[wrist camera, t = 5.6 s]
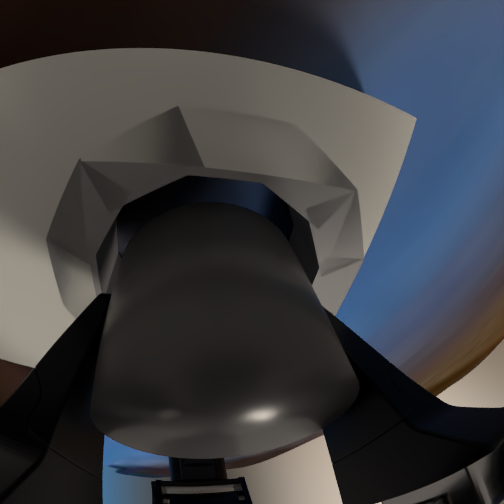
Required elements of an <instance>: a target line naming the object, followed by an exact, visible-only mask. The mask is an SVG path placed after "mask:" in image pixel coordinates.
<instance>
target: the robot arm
mask: <svg viewBox="0 0 504 504" xmlns="http://www.w3.org/2000/svg"><path fill="white" fill-rule="evenodd" d="M111 295H112V294H110V293H100V294H99V295H98V296H97V297H96V298H95V299H94V300H93V301H92V302H91V303H90V304H89V305H88V306H87V307H86V308H85V310H84V311H83V312H82V313H81V314H80V315H79V316H78V317H77V318H76V319H75V320H74V322H73V323H72V324H71V325H70V326H69V327H68V328H67V329H66V330H65V332H64V333H63V334H62V335H61V336H60V337H59V338H58V340H57V341H56V342H55V343H54V344H53V345H52V347H51V348H50V349H49V350H48V351H47V353H46V354H45V355H44V356H43V357H42V359H41V360H40V361H39V362H38V364H37V365H36V366H35V368H33V370H32V371H31V372H30V373H29V375H28V376H27V377H26V378H25V380H24V381H23V382H22V383H21V384H20V386H19V387H18V388H17V389H16V390H15V392H14V393H13V394H12V395H11V396H10V397H9V398H8V399H7V400H6V402H5V403H4V404H3V405H2V406H1V407H0V504H103V501H102V500H103V499H102V470H103V448H104V433H102V432H101V431H100V430H99V429H98V428H97V427H96V426H95V424H94V423H93V421H92V420H91V416H90V406H91V398H92V390H93V383H94V376H95V370H96V364H97V358H98V353H99V347H100V342H101V337H102V333H103V328H104V323H105V319H106V315H107V311H108V306H109V303H110V299H111ZM322 307H323V306H322ZM323 309H324V310H325V312H326V314H327V316H328V318H329V320H330V323H331V325H332V327H333V329H334V331H335V333H336V335H337V337H338V339H339V341H340V343H341V345H342V347H343V349H344V351H345V353H346V355H347V357H348V360H349V362H350V364H351V366H352V368H353V370H354V372H355V374H356V376H357V379H358V381H359V386H360V389H359V394H358V396H357V398H356V400H355V401H354V403H353V404H352V405H351V407H350V408H349V409H348V410H347V411H346V412H345V413H344V414H342V415H341V416H340V417H339V418H337V419H336V420H335V421H333V422H332V423H330V424H329V425H327V426H326V427H324V428H322V429H323V433H324V436H325V440H326V443H327V447H328V450H329V454H330V457H331V461H332V464H333V469H334V472H335V476H336V480H337V484H338V487H339V491H340V494H341V498H342V502H343V504H375V503H379V502H382V504H504V407H502V408H473V407H456V406H452V405H449V404H447V403H445V402H443V401H441V400H440V399H439V398H437V397H436V396H434V395H433V394H431V393H430V392H428V391H427V390H426V389H424V388H423V387H421V386H420V385H418V384H417V383H416V382H414V381H413V380H412V379H410V378H409V377H408V376H406V375H405V374H404V373H403V372H401V371H400V370H399V369H398V368H396V367H395V366H394V365H393V364H392V363H390V362H389V361H388V360H387V359H386V358H384V357H383V356H382V355H381V354H380V353H378V352H377V351H376V350H375V349H374V348H372V347H371V346H370V345H369V344H368V343H366V342H365V341H364V340H363V339H362V338H360V337H359V336H358V335H357V334H356V333H354V332H353V331H352V330H351V329H350V328H349V327H347V326H346V325H345V324H344V323H343V322H341V321H340V320H339V319H338V318H336V317H335V316H334V315H333V314H332V313H330V312H329V311H328V310H327V309H326V308H324V307H323ZM169 467H170V477H171V481H162V480H156V481H152V482H151V485H152V501H153V502H152V504H168V502H170V504H252V501H251V498H250V495H249V491H248V489H247V485H246V482H245V478H244V477H239V478H236V479H228V477H227V473H226V467H225V461H224V458H212V459H190V458H176V457H169ZM224 488H225V489H226V488H234V491H230V492H219V493H201V494H200V493H199V494H167V491H166V490H212V489H224Z"/></svg>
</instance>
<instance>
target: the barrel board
mask: <svg viewBox="0 0 504 504" xmlns="http://www.w3.org/2000/svg"><path fill="white" fill-rule="evenodd" d="M416 119H417V118H415V117H413V116H411V115H409V114H408V113H406V112H404V111H402V110H400V109H398V108H396V107H393V106H391V105H389V104H387V103H385V102H383V101H381V100H378V99H376V98H374V97H372V96H369V95H367V94H364V93H362V92H360V91H357V90H355V89H352V88H349V87H347V86H344V85H341V84H339V83H336V82H333V81H330V80H327V79H324V78H321V77H318V76H315V75H312V74H309V73H305V72H302V71H298V70H295V69H291V68H287V67H284V66H280V65H276V64H271V63H267V62H263V61H258V60H253V59H248V58H243V57H237V56H231V55H225V54H218V53H211V52H202V51H192V50H180V49H163V48H119V49H102V50H90V51H81V52H73V53H66V54H60V55H54V56H48V57H43V58H38V59H34V60H30V61H25V62H21V63H18V64H14V65H10V66H7V67H4V68H0V359H3V360H7V361H10V362H14V363H17V364H21V365H25V366H29V367H33V368H35V366H36V365H37V364H38V362H39V361H40V360H41V359H42V357H43V356H44V355H45V354H46V353H47V351H48V350H49V349H50V348H51V347H52V345H53V344H54V343H55V342H56V341H57V340H58V338H59V337H60V336H61V335H62V334H63V333H64V332H65V330H66V329H67V328H68V327H69V326H70V325H71V324H72V323H73V322H74V320H75V319H76V318H77V317H78V316H79V315H80V314H81V313H82V312H83V311H84V310H85V308H86V307H87V306H88V305H89V304H90V303H91V302H92V301H93V300H94V299H95V298H96V297H97V296H98V295H99V294H100V293H110V294H112V291H113V287H114V284H115V280H116V277H117V273H118V270H119V266H120V263H121V260H122V257H121V256H120V254H119V253H118V239H117V221H116V217H117V215H118V213H119V212H120V210H121V208H122V207H123V205H125V204H127V203H129V202H131V201H133V200H135V199H137V198H139V197H141V196H143V195H145V194H147V193H150V192H152V191H154V190H156V189H158V188H160V187H162V186H164V185H167V184H169V183H171V182H173V181H175V180H178V179H180V178H182V177H185V176H187V175H193V176H204V177H214V178H224V179H233V180H241V181H249V182H257V183H263V184H264V185H265V186H266V187H268V188H269V189H270V190H271V191H273V192H274V193H275V194H276V195H278V196H279V197H280V198H281V199H283V200H284V201H285V202H286V203H287V204H288V207H289V211H290V214H291V218H292V221H293V225H294V226H293V229H292V233H291V236H290V239H289V243H290V245H291V247H292V249H293V251H294V253H295V254H296V256H297V258H298V260H299V262H300V264H301V266H302V268H303V270H304V272H305V273H306V275H307V277H308V279H309V281H310V283H311V285H312V287H313V289H314V291H315V293H316V295H317V297H318V299H319V301H320V303H321V305H322V306H323V307H324V308H326V309H327V310H328V311H329V312H330V313H332V314H333V315H334V316H335V315H336V313H337V311H338V309H339V308H340V306H341V304H342V302H343V300H344V298H345V296H346V294H347V292H348V291H349V289H350V287H351V285H352V283H353V281H354V279H355V277H356V275H357V273H358V271H359V269H360V267H361V265H362V262H363V260H364V256H365V254H366V252H367V250H368V247H369V245H370V243H371V241H372V239H373V236H374V234H375V232H376V230H377V227H378V225H379V223H380V220H381V218H382V215H383V213H384V211H385V208H386V206H387V203H388V201H389V198H390V196H391V193H392V190H393V188H394V185H395V183H396V180H397V177H398V174H399V172H400V169H401V166H402V163H403V160H404V157H405V154H406V151H407V148H408V145H409V142H410V139H411V136H412V133H413V129H414V126H415V123H416Z"/></svg>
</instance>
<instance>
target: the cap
mask: <svg viewBox="0 0 504 504" xmlns="http://www.w3.org/2000/svg"><path fill="white" fill-rule="evenodd" d="M359 389H360V386H359V381H358V379H357V376H356V374H355V372H354V370H353V368H352V366H351V364H350V362H349V360H348V357H347V355H346V353H345V351H344V349H343V347H342V345H341V343H340V341H339V339H338V337H337V335H336V333H335V331H334V329H333V327H332V325H331V323H330V320H329V318H328V316H327V314H326V312H325V310H324V309H323V307H322V305H321V303H320V301H319V299H318V297H317V295H316V293H315V291H314V289H313V287H312V285H311V283H310V281H309V279H308V277H307V275H306V273H305V272H304V270H303V268H302V266H301V264H300V262H299V260H298V258H297V256H296V254H295V253H294V251H293V249H292V247H291V245H290V243H289V242H288V240H287V238H286V237H285V235H284V234H283V233H282V232H281V230H280V229H279V228H278V227H277V226H276V225H274V224H273V223H272V222H271V221H270V220H268V219H267V218H265V217H264V216H262V215H260V214H258V213H256V212H254V211H252V210H250V209H247V208H244V207H240V206H237V205H232V204H226V203H214V202H205V203H194V204H189V205H185V206H180V207H177V208H174V209H172V210H169V211H166V212H164V213H162V214H160V215H159V216H157V217H155V218H153V219H152V220H151V221H149V222H148V223H146V224H145V225H144V226H143V227H142V228H141V229H140V230H139V231H138V232H137V233H136V234H135V235H134V236H133V238H132V239H131V240H130V242H129V243H128V245H127V247H126V249H125V251H124V254H123V257H122V260H121V263H120V266H119V270H118V273H117V277H116V280H115V284H114V287H113V291H112V295H111V299H110V303H109V306H108V311H107V315H106V319H105V323H104V328H103V333H102V337H101V342H100V347H99V353H98V358H97V364H96V370H95V376H94V383H93V390H92V398H91V406H90V416H91V420H92V421H93V423H94V424H95V426H96V427H97V428H98V429H99V430H100V431H101V432H102V433H104V434H105V435H106V436H108V437H110V438H111V439H113V440H115V441H117V442H119V443H121V444H123V445H125V446H128V447H131V448H133V449H137V450H140V451H143V452H147V453H151V454H156V455H162V456H168V457H176V458H190V459H212V458H227V457H235V456H242V455H248V454H254V453H258V452H263V451H267V450H270V449H274V448H278V447H281V446H284V445H287V444H290V443H292V442H295V441H297V440H300V439H302V438H305V437H307V436H309V435H311V434H313V433H315V432H317V431H319V430H321V429H322V428H324V427H326V426H327V425H329V424H330V423H332V422H333V421H335V420H336V419H337V418H339V417H340V416H341V415H342V414H344V413H345V412H346V411H347V410H348V409H349V408H350V407H351V405H352V404H353V403H354V401H355V400H356V398H357V396H358V394H359Z"/></svg>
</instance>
